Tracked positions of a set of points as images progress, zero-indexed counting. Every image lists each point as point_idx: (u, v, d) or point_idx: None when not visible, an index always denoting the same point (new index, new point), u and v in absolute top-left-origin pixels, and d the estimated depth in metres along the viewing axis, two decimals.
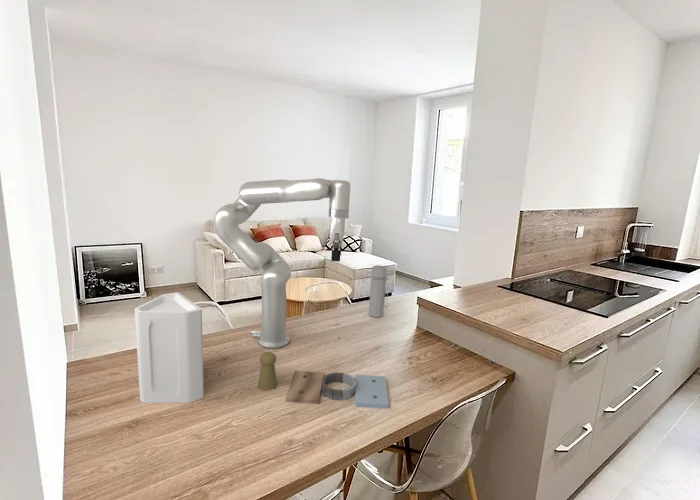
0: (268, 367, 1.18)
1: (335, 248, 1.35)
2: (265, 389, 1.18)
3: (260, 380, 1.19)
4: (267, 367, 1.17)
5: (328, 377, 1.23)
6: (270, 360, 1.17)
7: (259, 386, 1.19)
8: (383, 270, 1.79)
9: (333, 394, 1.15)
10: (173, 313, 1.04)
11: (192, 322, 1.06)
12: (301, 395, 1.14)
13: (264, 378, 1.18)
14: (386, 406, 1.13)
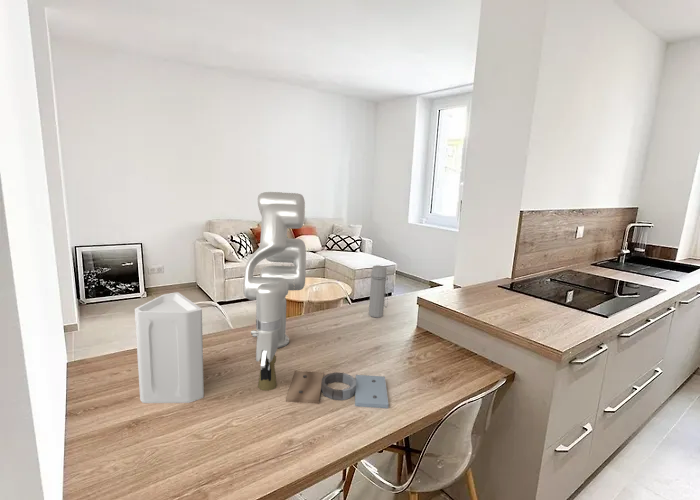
0: None
1: (263, 368, 1.15)
2: (265, 389, 1.18)
3: (260, 380, 1.19)
4: None
5: (328, 377, 1.23)
6: None
7: (259, 386, 1.19)
8: (383, 270, 1.79)
9: (333, 394, 1.15)
10: (173, 313, 1.04)
11: (192, 322, 1.06)
12: (301, 395, 1.14)
13: None
14: (386, 406, 1.13)
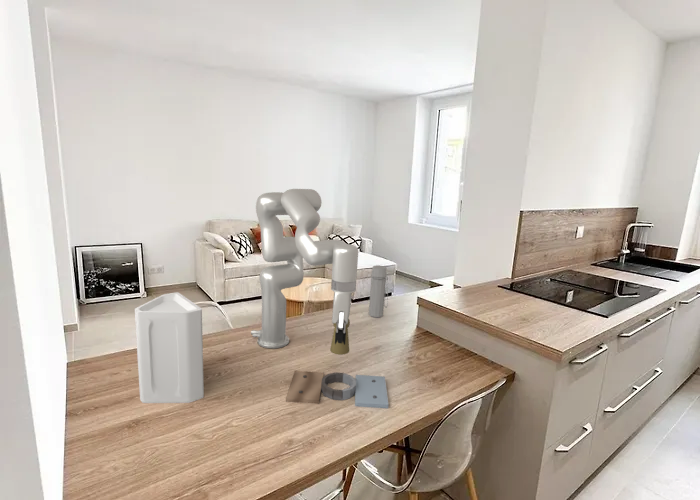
0: (343, 330, 1.14)
1: (339, 331, 1.12)
2: (339, 353, 1.15)
3: (334, 344, 1.15)
4: None
5: (328, 377, 1.23)
6: None
7: (332, 350, 1.16)
8: (383, 270, 1.79)
9: (333, 394, 1.15)
10: (173, 313, 1.04)
11: (192, 322, 1.06)
12: (301, 395, 1.14)
13: None
14: (386, 406, 1.13)
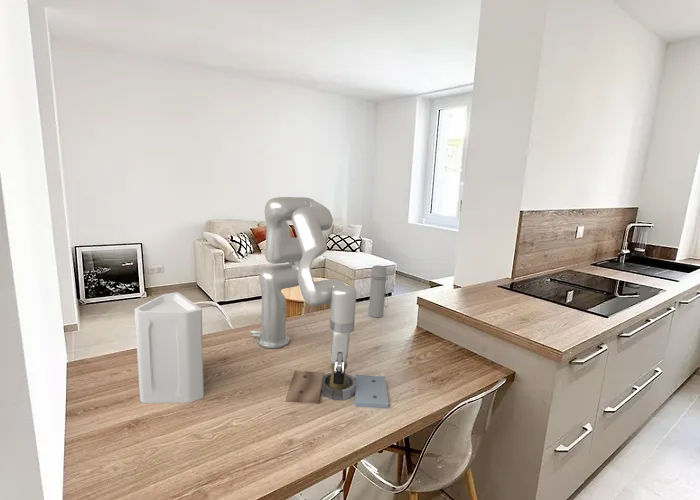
0: None
1: (338, 371, 1.12)
2: None
3: (331, 386, 1.18)
4: None
5: (328, 377, 1.23)
6: None
7: None
8: (383, 270, 1.79)
9: (333, 394, 1.15)
10: (173, 313, 1.04)
11: (192, 322, 1.06)
12: (301, 395, 1.14)
13: None
14: (386, 406, 1.13)
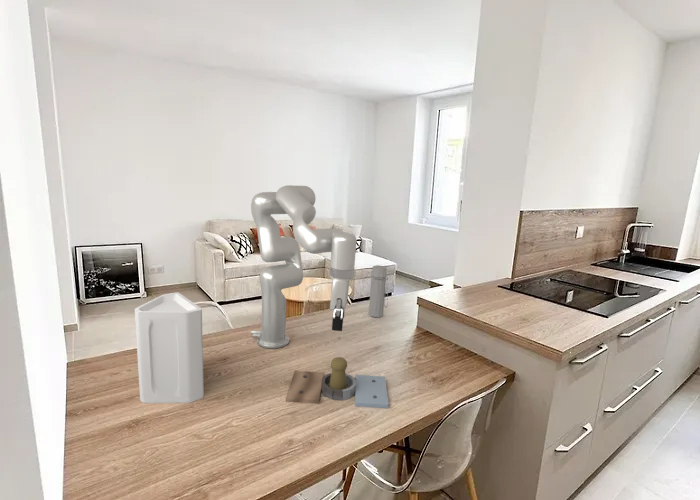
0: (340, 372, 1.17)
1: (336, 317, 1.12)
2: None
3: (331, 386, 1.18)
4: (339, 372, 1.17)
5: (328, 377, 1.23)
6: (343, 365, 1.16)
7: None
8: (383, 270, 1.79)
9: (333, 394, 1.15)
10: (173, 313, 1.04)
11: (192, 322, 1.06)
12: (301, 395, 1.14)
13: (336, 383, 1.17)
14: (386, 406, 1.13)
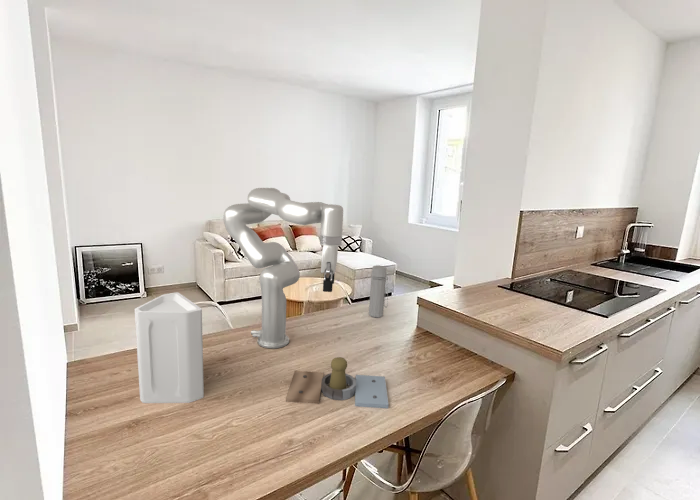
0: (340, 372, 1.17)
1: (327, 278, 1.26)
2: None
3: (331, 386, 1.18)
4: (339, 372, 1.17)
5: (328, 377, 1.23)
6: (343, 365, 1.16)
7: None
8: (383, 270, 1.79)
9: (333, 394, 1.15)
10: (173, 313, 1.04)
11: (192, 322, 1.06)
12: (301, 395, 1.14)
13: (336, 383, 1.17)
14: (386, 406, 1.13)
